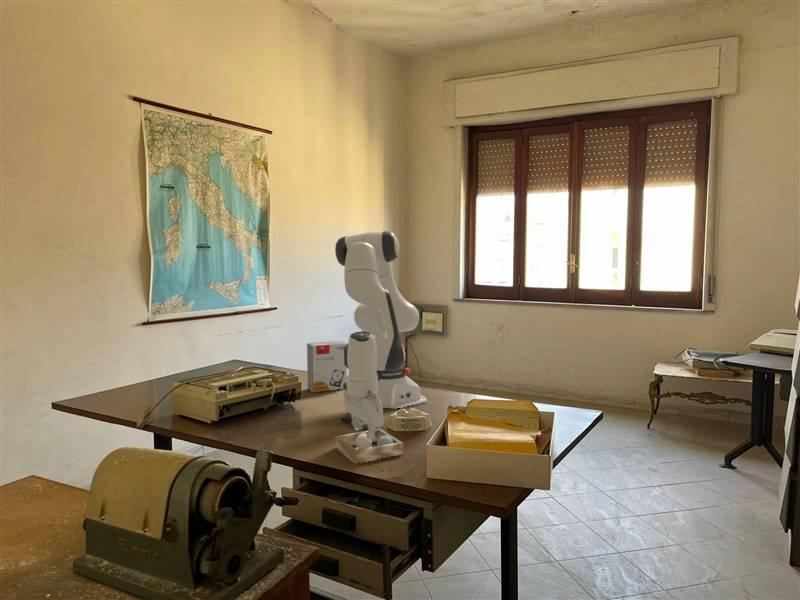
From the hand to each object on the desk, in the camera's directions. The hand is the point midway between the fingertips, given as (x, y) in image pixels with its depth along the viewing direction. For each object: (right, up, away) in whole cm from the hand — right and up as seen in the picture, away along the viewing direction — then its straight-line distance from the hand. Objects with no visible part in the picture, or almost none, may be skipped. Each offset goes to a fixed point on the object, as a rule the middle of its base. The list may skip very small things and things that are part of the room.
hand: (363, 433), depth 166 cm
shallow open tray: (+1, -5, 0) cm, 5 cm away
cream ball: (0, -5, 0) cm, 5 cm away
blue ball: (+6, -5, -1) cm, 8 cm away
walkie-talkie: (-1, -4, +24) cm, 24 cm away
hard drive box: (-20, +1, +74) cm, 77 cm away
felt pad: (0, -5, 0) cm, 5 cm away
